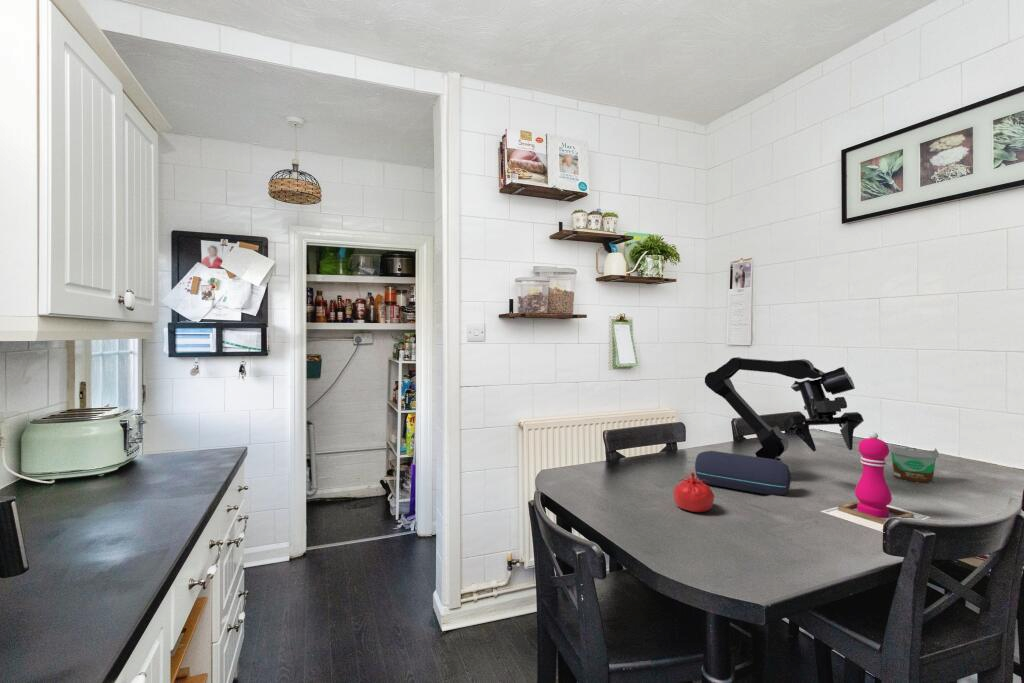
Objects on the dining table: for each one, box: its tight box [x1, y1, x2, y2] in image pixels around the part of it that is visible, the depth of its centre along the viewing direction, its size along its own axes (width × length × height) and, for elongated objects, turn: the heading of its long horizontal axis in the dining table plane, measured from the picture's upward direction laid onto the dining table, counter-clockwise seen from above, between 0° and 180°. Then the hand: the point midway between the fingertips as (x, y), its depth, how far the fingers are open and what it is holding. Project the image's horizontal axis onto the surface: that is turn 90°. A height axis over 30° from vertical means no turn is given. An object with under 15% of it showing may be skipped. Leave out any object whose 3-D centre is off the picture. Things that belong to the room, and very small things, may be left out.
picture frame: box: [820, 504, 932, 533], centre depth 117 cm, size 20×14×1 cm
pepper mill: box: [854, 431, 893, 518], centre depth 117 cm, size 7×7×20 cm
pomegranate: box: [672, 471, 715, 513], centre depth 123 cm, size 10×10×9 cm
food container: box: [889, 444, 940, 484], centre depth 146 cm, size 12×6×10 cm, turn 68°
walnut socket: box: [837, 500, 914, 525], centre depth 117 cm, size 11×11×1 cm
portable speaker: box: [694, 450, 792, 496], centre depth 139 cm, size 25×10×10 cm, turn 54°
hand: (832, 450), depth 132 cm, fingers open, 9 cm apart
